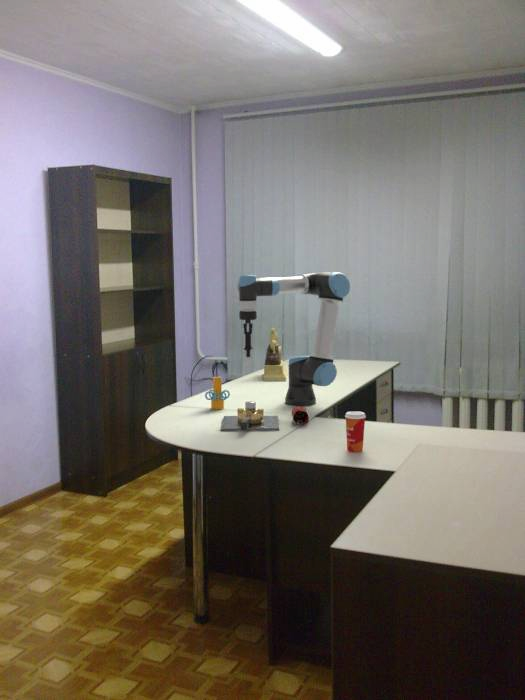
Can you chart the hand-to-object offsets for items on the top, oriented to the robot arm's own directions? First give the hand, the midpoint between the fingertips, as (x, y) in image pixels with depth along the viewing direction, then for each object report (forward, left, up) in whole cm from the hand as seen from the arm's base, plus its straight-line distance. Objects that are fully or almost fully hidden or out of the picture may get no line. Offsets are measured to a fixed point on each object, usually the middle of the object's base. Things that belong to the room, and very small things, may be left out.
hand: (248, 364), depth 314 cm
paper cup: (-40, +54, -25) cm, 72 cm away
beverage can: (-22, +8, -25) cm, 34 cm away
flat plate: (-1, +11, -24) cm, 27 cm away
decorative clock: (-14, -112, -25) cm, 116 cm away
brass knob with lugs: (0, +18, -23) cm, 29 cm away
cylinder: (+15, -22, -25) cm, 36 cm away
